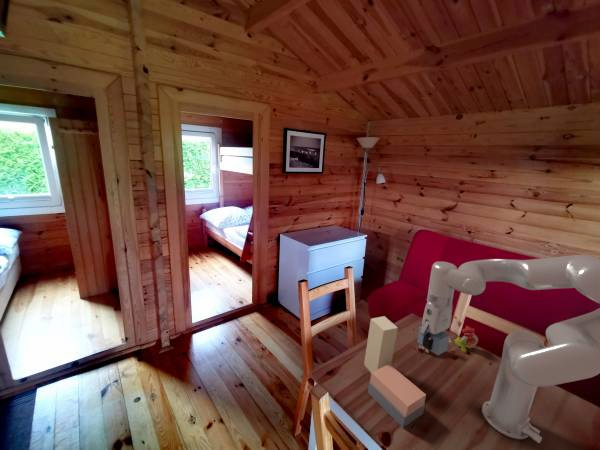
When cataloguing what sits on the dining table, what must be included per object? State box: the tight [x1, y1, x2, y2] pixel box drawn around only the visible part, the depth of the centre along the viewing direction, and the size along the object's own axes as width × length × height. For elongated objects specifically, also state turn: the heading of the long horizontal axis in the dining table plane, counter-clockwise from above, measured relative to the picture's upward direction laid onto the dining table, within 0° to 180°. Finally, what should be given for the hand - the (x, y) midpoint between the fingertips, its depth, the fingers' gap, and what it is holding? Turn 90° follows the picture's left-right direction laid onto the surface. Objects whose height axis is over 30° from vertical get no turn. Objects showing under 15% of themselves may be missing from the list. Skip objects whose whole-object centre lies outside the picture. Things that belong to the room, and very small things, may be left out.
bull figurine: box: [418, 337, 453, 354], centre depth 119 cm, size 4×13×8 cm, turn 89°
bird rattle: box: [453, 325, 479, 353], centre depth 122 cm, size 6×11×9 cm
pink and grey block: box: [367, 364, 427, 429], centre depth 92 cm, size 15×10×8 cm, turn 31°
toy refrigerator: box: [363, 315, 399, 374], centre depth 104 cm, size 8×7×21 cm
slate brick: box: [416, 325, 450, 356], centre depth 95 cm, size 8×5×6 cm, turn 31°
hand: (431, 344), depth 96 cm, fingers closed on slate brick, 5 cm apart
